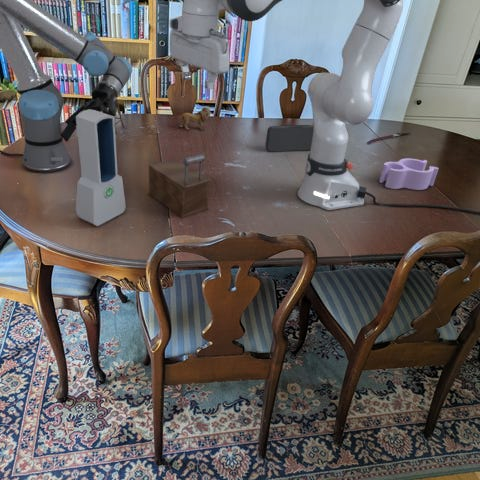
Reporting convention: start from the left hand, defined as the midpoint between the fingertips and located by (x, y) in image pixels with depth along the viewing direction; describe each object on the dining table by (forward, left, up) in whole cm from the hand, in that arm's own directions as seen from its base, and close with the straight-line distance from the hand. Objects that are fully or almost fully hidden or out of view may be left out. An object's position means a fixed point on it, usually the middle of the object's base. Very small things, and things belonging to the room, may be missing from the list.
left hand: (79, 134), depth 145 cm
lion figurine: (+24, +60, -15) cm, 66 cm away
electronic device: (+14, -21, -15) cm, 30 cm away
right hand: (+39, -11, +23) cm, 47 cm away
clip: (+110, +32, -15) cm, 116 cm away
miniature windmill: (-8, +46, -15) cm, 49 cm away
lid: (+33, -7, -6) cm, 35 cm away
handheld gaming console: (+67, +50, -15) cm, 85 cm away
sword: (+111, +80, -15) cm, 138 cm away
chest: (+33, -7, -15) cm, 37 cm away
